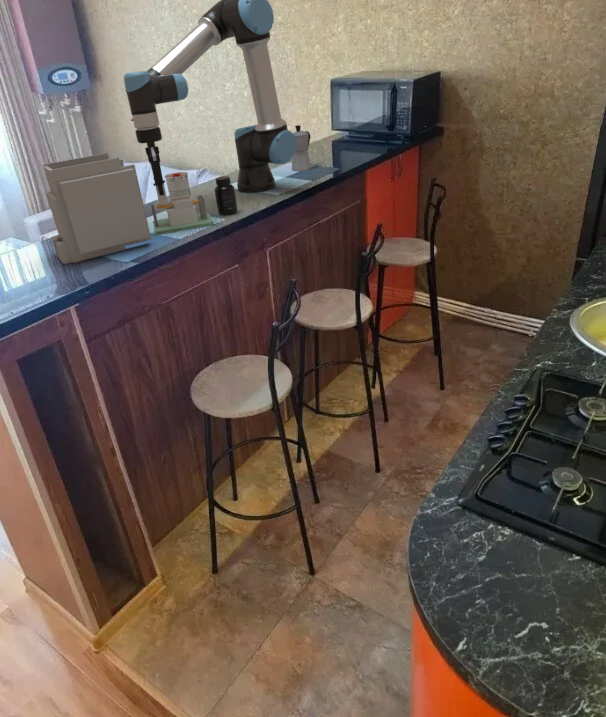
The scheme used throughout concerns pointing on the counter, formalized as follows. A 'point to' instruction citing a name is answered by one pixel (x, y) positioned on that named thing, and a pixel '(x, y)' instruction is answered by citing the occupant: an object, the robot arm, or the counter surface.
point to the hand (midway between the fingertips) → (163, 204)
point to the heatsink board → (181, 227)
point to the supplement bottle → (225, 196)
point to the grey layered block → (95, 207)
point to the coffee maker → (301, 151)
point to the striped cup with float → (178, 184)
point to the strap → (172, 204)
